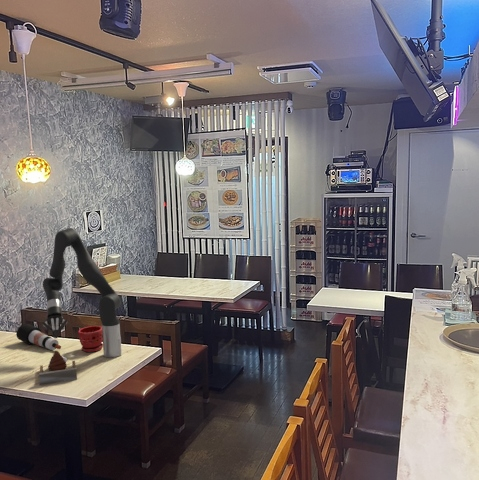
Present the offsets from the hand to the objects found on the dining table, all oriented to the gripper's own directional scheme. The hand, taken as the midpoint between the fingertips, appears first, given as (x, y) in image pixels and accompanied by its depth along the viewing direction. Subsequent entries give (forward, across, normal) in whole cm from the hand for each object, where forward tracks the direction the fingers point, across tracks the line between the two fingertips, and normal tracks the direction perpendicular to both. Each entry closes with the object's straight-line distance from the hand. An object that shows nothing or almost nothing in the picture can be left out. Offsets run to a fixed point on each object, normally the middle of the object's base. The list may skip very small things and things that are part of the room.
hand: (55, 337), depth 247 cm
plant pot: (+1, +18, +17) cm, 25 cm away
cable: (-12, -8, +31) cm, 34 cm away
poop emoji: (+17, 0, +2) cm, 17 cm away
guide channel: (+23, 0, -5) cm, 23 cm away
